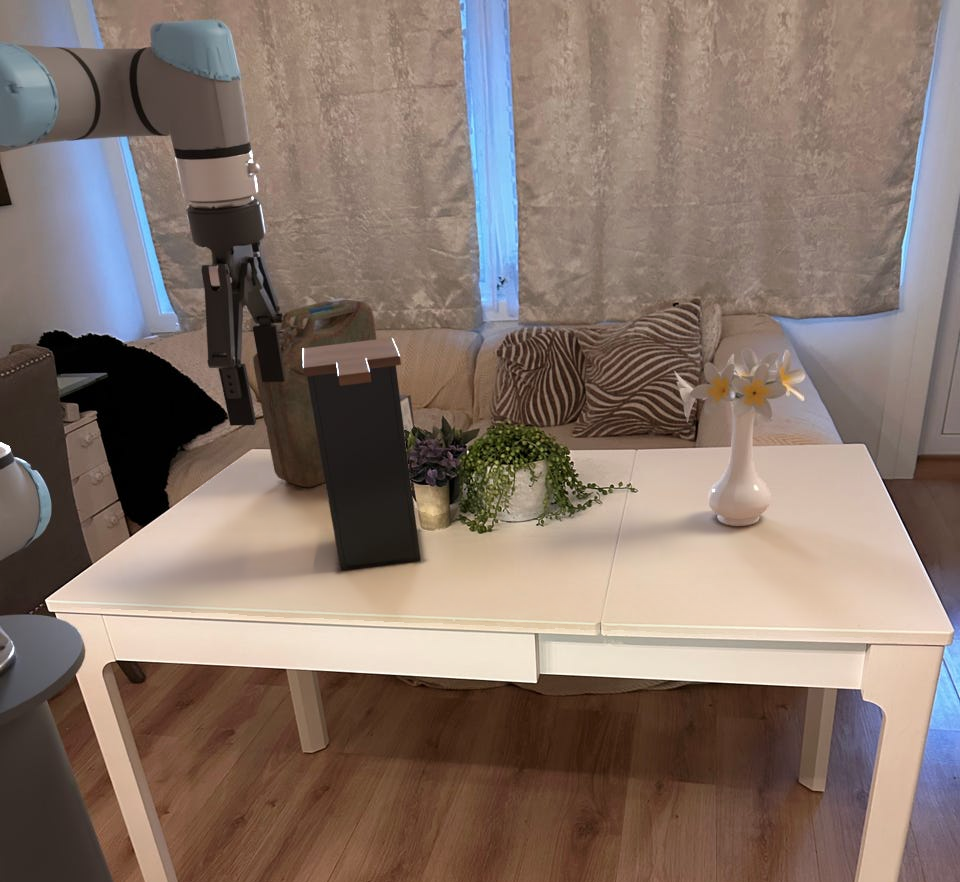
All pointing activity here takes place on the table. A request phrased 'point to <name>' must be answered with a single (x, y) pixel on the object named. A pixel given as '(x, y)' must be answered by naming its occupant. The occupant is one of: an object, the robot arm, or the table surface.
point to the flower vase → (743, 426)
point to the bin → (366, 469)
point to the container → (305, 384)
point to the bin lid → (350, 359)
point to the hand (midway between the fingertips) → (259, 401)
